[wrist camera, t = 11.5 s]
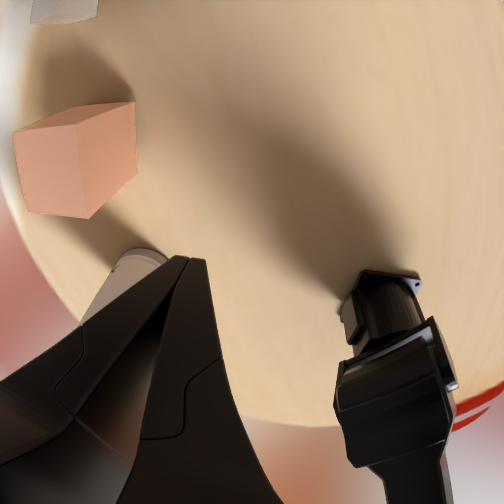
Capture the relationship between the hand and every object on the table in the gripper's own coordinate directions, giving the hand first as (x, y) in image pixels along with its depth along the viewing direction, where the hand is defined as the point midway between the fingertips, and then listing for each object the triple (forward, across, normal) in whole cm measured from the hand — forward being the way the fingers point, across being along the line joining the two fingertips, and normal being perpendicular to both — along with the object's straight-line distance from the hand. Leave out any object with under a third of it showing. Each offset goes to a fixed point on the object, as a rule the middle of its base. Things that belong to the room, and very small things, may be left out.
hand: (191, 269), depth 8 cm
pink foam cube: (+12, +10, 0) cm, 16 cm away
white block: (+13, +13, -11) cm, 21 cm away
